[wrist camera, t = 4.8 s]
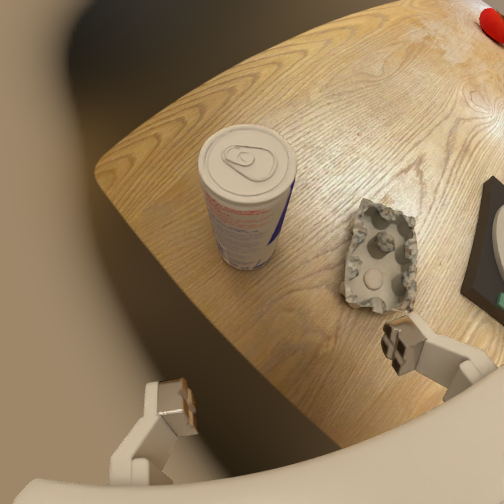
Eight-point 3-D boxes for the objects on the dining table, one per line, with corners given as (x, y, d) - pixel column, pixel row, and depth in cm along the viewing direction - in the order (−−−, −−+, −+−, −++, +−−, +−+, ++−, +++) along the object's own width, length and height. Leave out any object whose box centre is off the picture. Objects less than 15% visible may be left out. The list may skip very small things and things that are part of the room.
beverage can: (281, 264, 30) (311, 193, 16) (224, 277, 30) (205, 214, 15) (267, 213, 32) (283, 115, 17) (213, 224, 31) (191, 130, 17)
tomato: (483, 24, 54) (495, 5, 44) (510, 50, 51) (523, 31, 41) (468, 21, 52) (479, -1, 43) (497, 48, 49) (511, 26, 39)
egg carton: (394, 321, 29) (414, 318, 25) (329, 302, 29) (341, 297, 25) (410, 229, 32) (427, 215, 28) (350, 207, 32) (363, 190, 28)
